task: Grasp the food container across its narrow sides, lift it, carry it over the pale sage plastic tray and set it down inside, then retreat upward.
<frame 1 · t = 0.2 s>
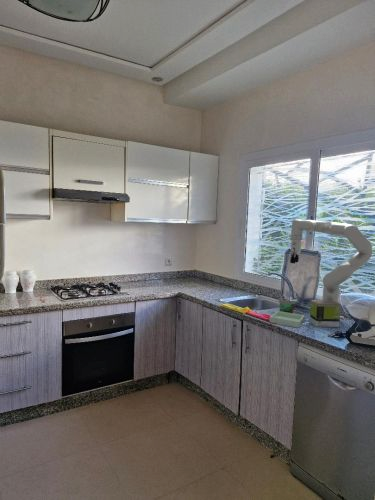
hand: (294, 262, 240), 36 cm above the worktop, tool pointing down, fingers open, 9 cm apart
tea box: (323, 325, 220), on the worktop
sorting tray: (287, 321, 223), on the worktop
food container: (284, 314, 241), on the worktop
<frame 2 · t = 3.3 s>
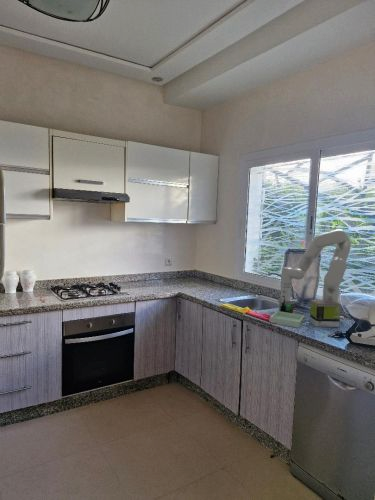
hand: (284, 310, 241), 2 cm above the worktop, tool pointing down, fingers open, 6 cm apart
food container: (284, 314, 241), on the worktop, touching gripper
everything else where it was.
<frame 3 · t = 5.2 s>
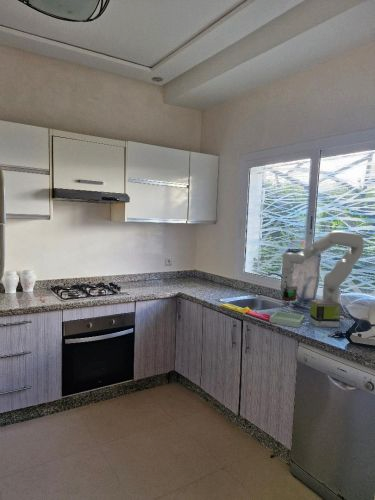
hand: (286, 296, 240), 12 cm above the worktop, tool pointing down, fingers closed on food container, 5 cm apart
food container: (286, 300, 239), point 10 cm above the worktop, touching gripper
everything else where it was.
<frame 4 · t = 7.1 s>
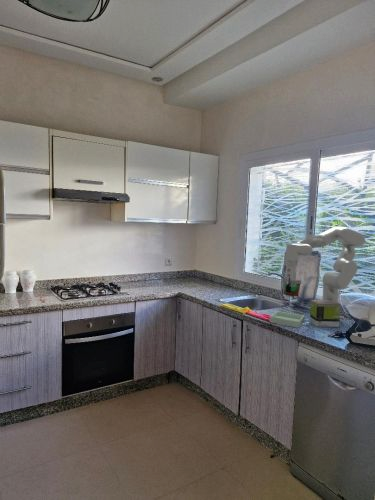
hand: (289, 291, 221), 19 cm above the worktop, tool pointing down, fingers closed on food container, 5 cm apart
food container: (289, 295, 221), point 17 cm above the worktop, touching gripper
everything else where it was.
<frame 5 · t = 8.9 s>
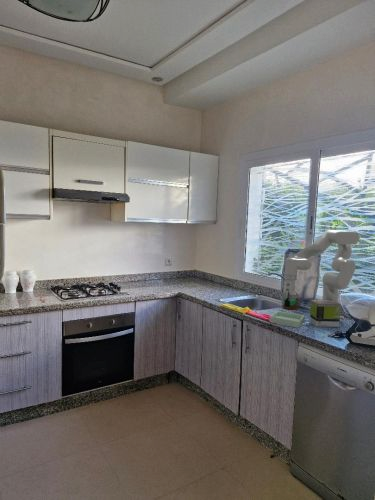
hand: (288, 305, 222), 11 cm above the worktop, tool pointing down, fingers closed on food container, 5 cm apart
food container: (287, 309, 221), point 8 cm above the worktop, touching gripper
everything else where it was.
when the fingers open (4 cm above the worktop, at t = 10.5 s): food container drops 1 cm, resting on sorting tray.
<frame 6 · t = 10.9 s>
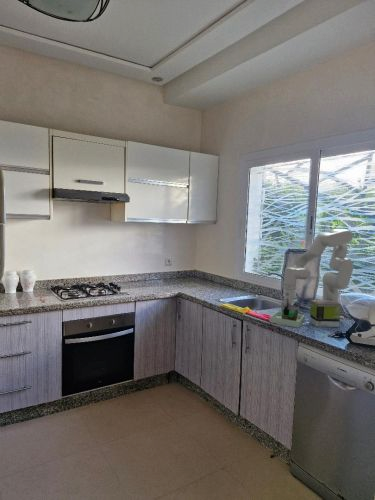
hand: (287, 313, 222), 5 cm above the worktop, tool pointing down, fingers open, 9 cm apart
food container: (286, 321, 221), point 1 cm above the worktop, touching gripper, sorting tray
everything else where it was.
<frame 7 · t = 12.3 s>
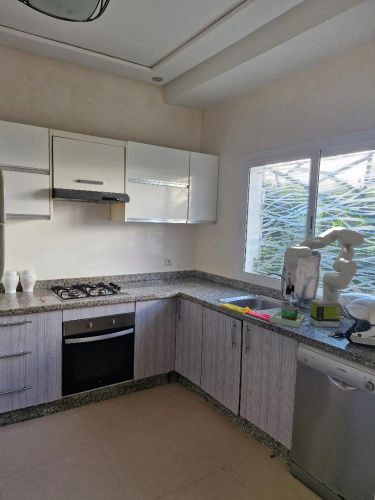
hand: (290, 293, 221), 18 cm above the worktop, tool pointing down, fingers open, 9 cm apart
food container: (286, 321, 221), point 1 cm above the worktop, touching sorting tray
everything else where it was.
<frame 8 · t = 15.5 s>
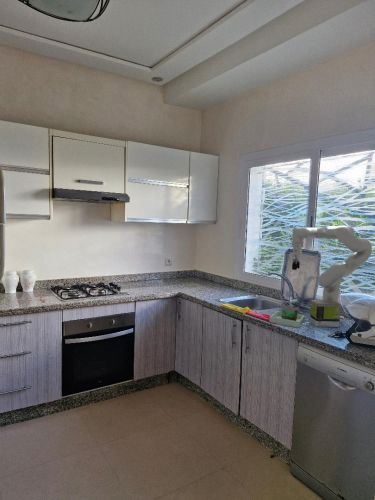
hand: (295, 269, 248), 30 cm above the worktop, tool pointing down, fingers open, 9 cm apart
nothing on the worktop moved.
at the end: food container inside the target area on the sorting tray (1.5 cm from its centre), point 0.6 cm above the sorting tray's base; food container tilted 0°; the gripper is holding nothing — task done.
